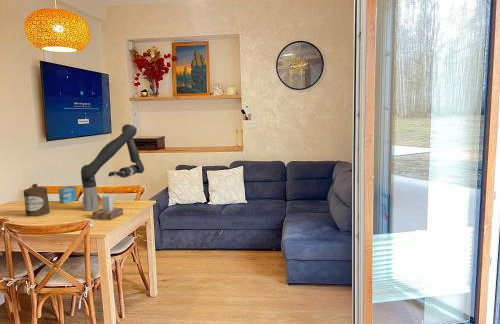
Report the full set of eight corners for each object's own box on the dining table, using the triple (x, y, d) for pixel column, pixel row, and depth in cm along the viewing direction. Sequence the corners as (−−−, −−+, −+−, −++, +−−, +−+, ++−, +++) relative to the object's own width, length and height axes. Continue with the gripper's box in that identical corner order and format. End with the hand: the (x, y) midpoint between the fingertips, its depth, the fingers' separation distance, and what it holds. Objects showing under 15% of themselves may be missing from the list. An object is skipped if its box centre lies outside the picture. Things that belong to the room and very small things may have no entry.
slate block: (102, 210, 252) (101, 196, 251) (106, 209, 257) (105, 194, 256) (109, 211, 251) (108, 196, 250) (113, 209, 256) (112, 195, 255)
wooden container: (21, 217, 258) (18, 186, 255) (32, 211, 273) (29, 182, 270) (43, 216, 259) (40, 185, 256) (53, 210, 274) (50, 181, 271)
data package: (63, 203, 295) (62, 188, 293) (59, 203, 297) (58, 188, 295) (76, 200, 306) (75, 185, 304) (72, 199, 308) (71, 185, 306)
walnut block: (92, 219, 250) (92, 212, 249) (105, 214, 263) (105, 207, 262) (110, 220, 246) (110, 213, 246) (123, 215, 260) (122, 208, 259)
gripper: (117, 166, 278) (105, 169, 263) (134, 167, 276) (123, 170, 260) (117, 176, 279) (105, 180, 264) (135, 177, 277) (123, 180, 261)
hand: (114, 175), depth 262 cm, fingers open, 8 cm apart
